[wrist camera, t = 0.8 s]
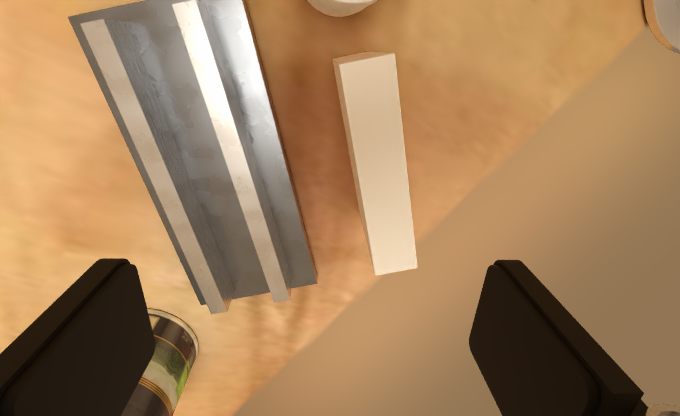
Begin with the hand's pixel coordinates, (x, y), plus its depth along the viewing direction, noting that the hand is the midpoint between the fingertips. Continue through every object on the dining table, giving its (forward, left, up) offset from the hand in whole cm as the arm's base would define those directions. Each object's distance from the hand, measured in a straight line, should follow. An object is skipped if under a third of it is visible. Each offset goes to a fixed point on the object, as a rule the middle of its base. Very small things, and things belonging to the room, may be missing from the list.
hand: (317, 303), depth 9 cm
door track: (+9, +2, -22) cm, 24 cm away
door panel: (-4, +2, -22) cm, 23 cm away
